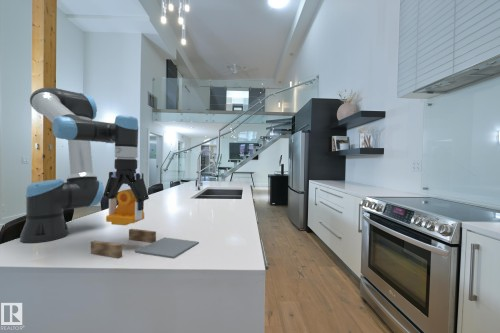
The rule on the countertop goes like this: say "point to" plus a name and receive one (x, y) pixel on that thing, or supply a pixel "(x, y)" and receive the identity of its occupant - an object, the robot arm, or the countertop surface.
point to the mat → (167, 247)
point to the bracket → (124, 209)
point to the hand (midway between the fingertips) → (125, 217)
